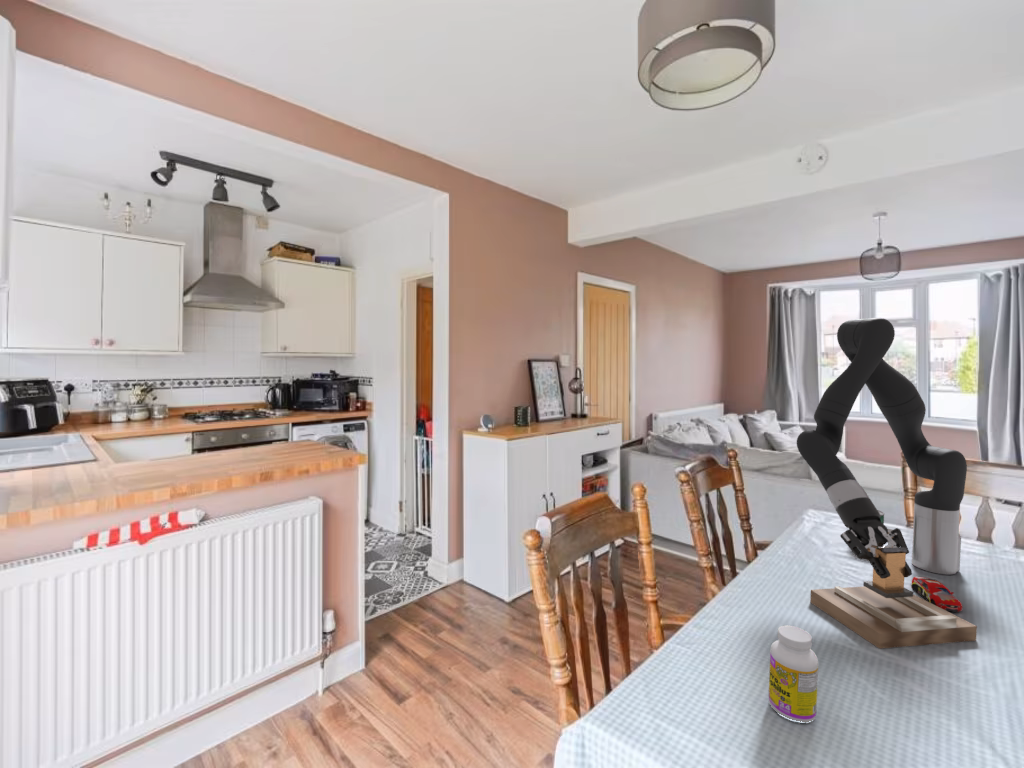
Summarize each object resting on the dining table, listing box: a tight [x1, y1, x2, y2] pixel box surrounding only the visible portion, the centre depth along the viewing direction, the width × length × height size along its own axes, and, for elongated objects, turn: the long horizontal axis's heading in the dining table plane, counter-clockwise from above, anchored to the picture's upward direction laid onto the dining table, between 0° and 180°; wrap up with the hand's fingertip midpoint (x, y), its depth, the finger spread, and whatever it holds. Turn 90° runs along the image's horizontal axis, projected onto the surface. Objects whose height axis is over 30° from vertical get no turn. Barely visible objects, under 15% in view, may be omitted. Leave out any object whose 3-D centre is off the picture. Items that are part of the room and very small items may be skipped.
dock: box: [809, 585, 978, 649], centre depth 103 cm, size 22×18×5 cm
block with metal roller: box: [862, 547, 914, 598], centre depth 103 cm, size 6×6×10 cm
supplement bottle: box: [768, 624, 819, 722], centre depth 76 cm, size 7×7×13 cm
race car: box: [911, 576, 963, 613], centre depth 112 cm, size 13×5×4 cm, turn 162°
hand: (896, 576), depth 101 cm, fingers closed on block with metal roller, 4 cm apart
